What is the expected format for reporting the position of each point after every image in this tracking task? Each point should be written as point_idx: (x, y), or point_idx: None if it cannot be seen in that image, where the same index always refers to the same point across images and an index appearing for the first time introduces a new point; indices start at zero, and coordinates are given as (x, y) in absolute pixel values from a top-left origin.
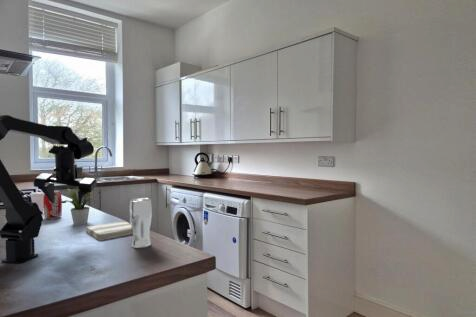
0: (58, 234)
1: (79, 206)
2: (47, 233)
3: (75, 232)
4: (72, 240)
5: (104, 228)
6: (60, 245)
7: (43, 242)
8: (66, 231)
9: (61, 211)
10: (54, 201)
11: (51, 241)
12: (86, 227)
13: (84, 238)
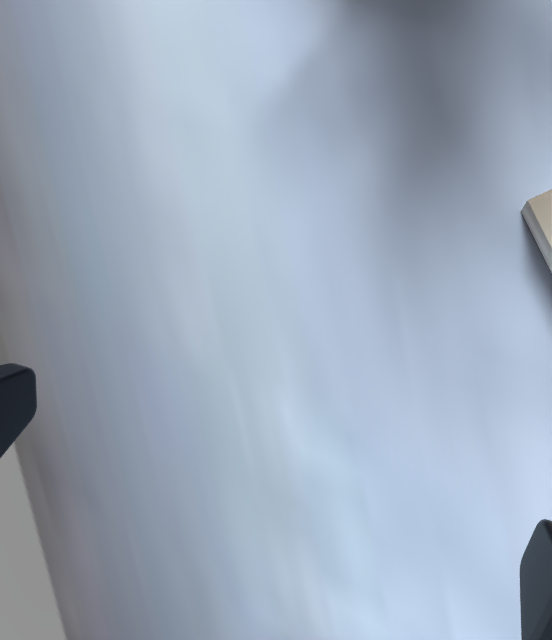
0: (268, 223)
1: (524, 571)
2: (177, 163)
3: (406, 188)
4: (427, 478)
5: None
6: (354, 593)
7: (211, 443)
8: (315, 128)
9: None
10: (19, 380)
11: (261, 438)
12: (530, 208)
13: (534, 453)
